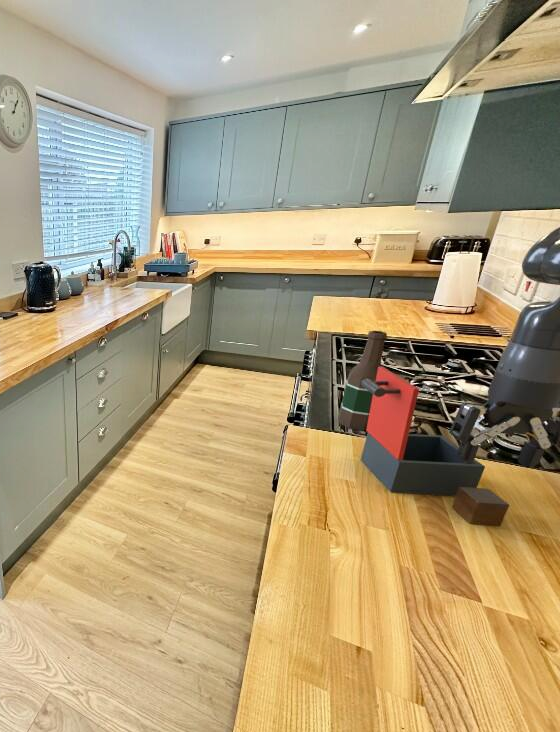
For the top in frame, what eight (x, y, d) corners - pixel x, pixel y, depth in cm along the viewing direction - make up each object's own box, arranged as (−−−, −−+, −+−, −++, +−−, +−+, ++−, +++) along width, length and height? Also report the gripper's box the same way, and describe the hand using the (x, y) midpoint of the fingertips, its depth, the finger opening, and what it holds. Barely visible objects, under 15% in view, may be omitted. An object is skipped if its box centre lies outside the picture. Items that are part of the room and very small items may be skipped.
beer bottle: (367, 434, 100) (392, 338, 91) (331, 423, 106) (352, 332, 97) (379, 424, 104) (404, 331, 95) (344, 414, 110) (365, 326, 101)
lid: (382, 366, 83) (354, 367, 84) (419, 388, 72) (386, 389, 73) (370, 430, 88) (343, 430, 89) (402, 460, 77) (372, 459, 78)
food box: (432, 463, 88) (441, 435, 86) (473, 497, 77) (485, 466, 75) (360, 459, 91) (367, 432, 88) (390, 492, 80) (399, 462, 78)
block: (480, 509, 75) (488, 488, 73) (500, 526, 70) (510, 504, 69) (451, 507, 75) (459, 486, 74) (469, 524, 71) (478, 502, 70)
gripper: (496, 380, 61) (460, 473, 67) (616, 382, 58) (568, 479, 64) (459, 363, 68) (430, 449, 74) (565, 364, 65) (526, 454, 71)
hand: (494, 463), depth 69 cm, fingers open, 8 cm apart
